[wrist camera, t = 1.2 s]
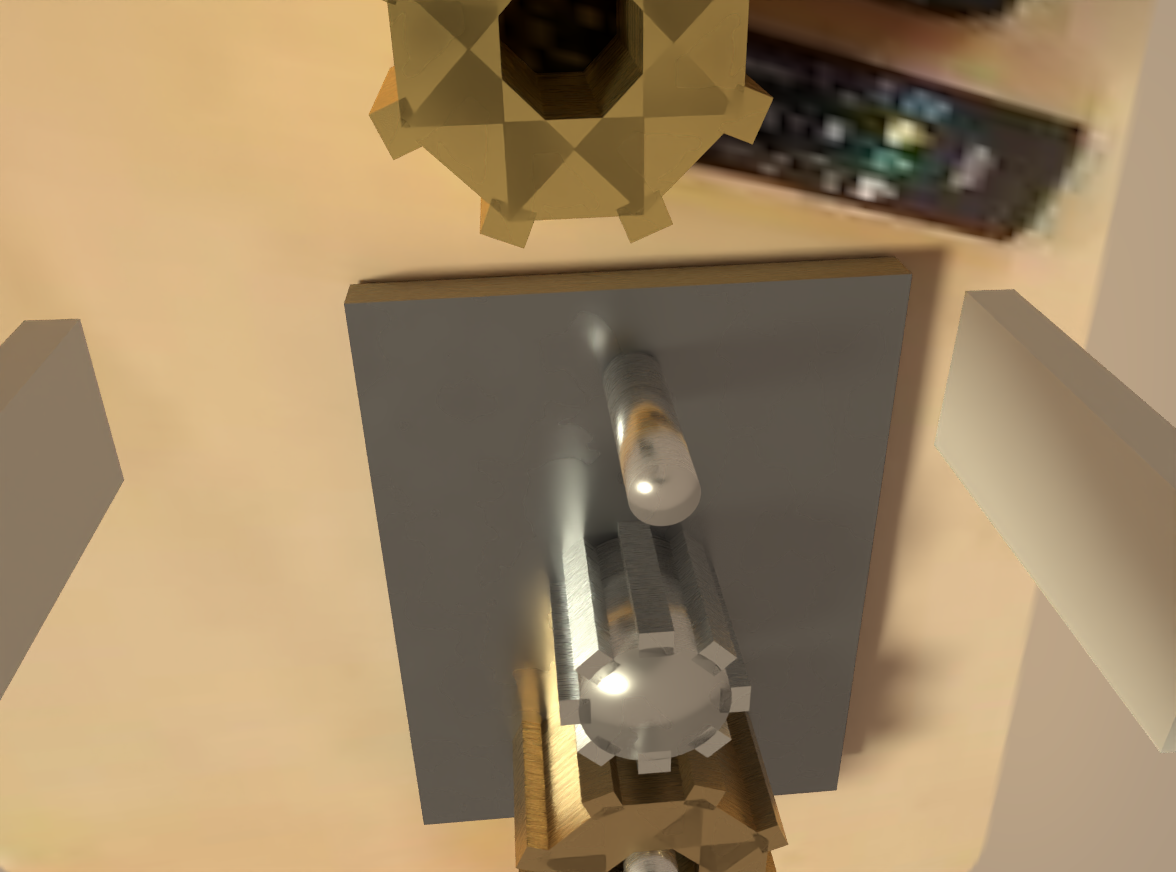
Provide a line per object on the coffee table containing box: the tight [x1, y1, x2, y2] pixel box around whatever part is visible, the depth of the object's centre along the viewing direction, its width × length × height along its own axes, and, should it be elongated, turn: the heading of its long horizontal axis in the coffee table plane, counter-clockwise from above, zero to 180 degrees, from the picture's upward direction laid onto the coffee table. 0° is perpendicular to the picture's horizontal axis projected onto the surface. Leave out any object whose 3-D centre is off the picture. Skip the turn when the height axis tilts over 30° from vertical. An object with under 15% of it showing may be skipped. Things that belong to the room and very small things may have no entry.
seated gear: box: [513, 710, 788, 872], centre depth 40 cm, size 10×10×6 cm
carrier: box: [344, 257, 912, 872], centre depth 36 cm, size 24×18×9 cm
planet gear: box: [369, 0, 773, 248], centre depth 27 cm, size 10×10×6 cm
